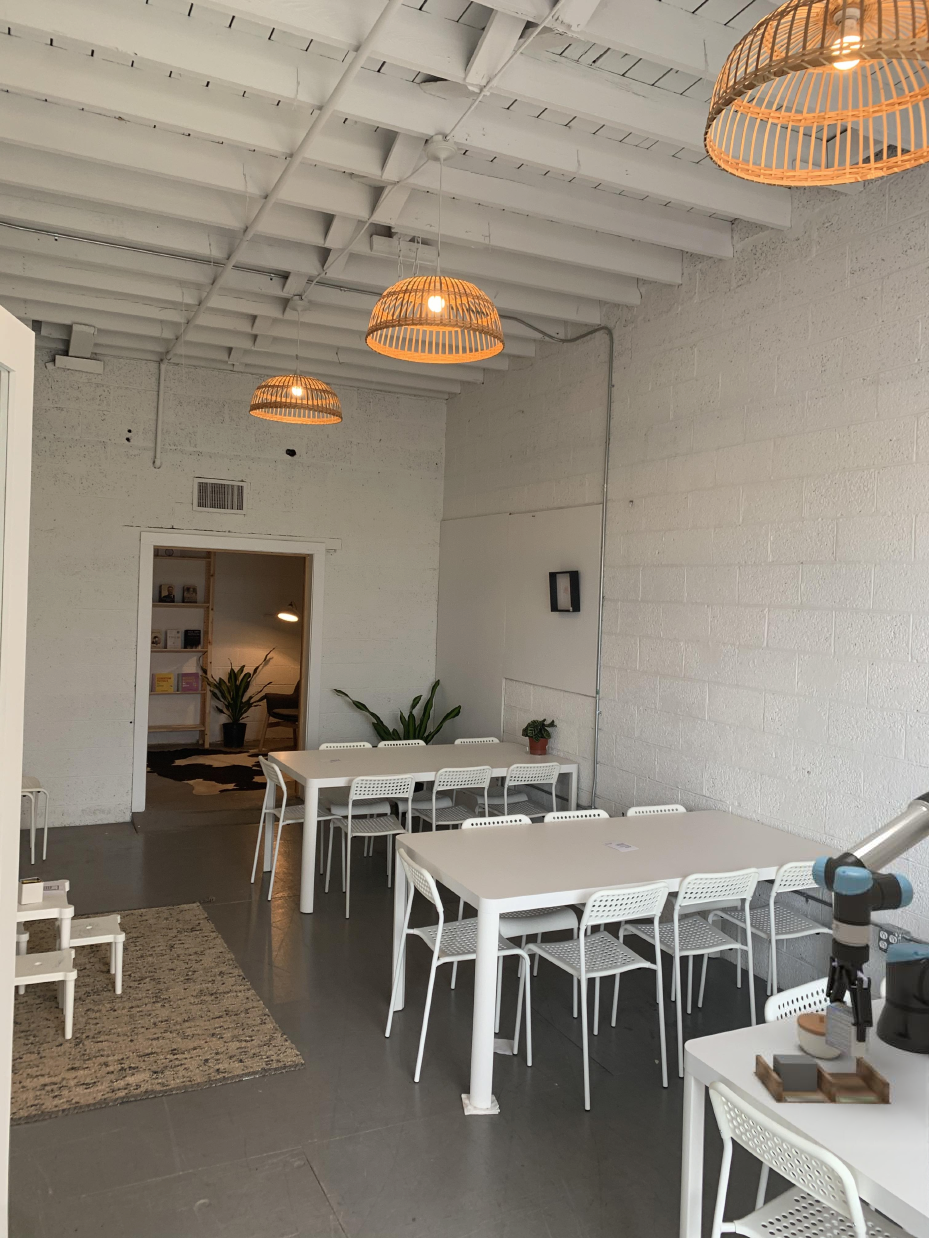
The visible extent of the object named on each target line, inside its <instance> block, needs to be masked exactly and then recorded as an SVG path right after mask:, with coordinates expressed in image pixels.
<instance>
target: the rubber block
mask: <svg viewBox="0 0 929 1238" xmlns="http://www.w3.org/2000/svg"><path fill="white" fill-rule="evenodd" d="M772 1056H773V1057H772V1070H773V1071H774V1072H775V1073H776V1075H777V1076H778V1077H779V1078H780V1079H781V1081H782V1082H783V1086H782V1092H817V1063H818V1062H817V1061H816V1060H815V1058H814V1057H813V1058H814V1059H813V1058H812V1057H811V1056H812V1055H810V1054H786V1053H785V1054H781V1053H780V1054H777V1053H776V1054H773V1055H772ZM814 1060H815V1061H816V1062H817V1063H816V1062H815V1061H814Z"/></svg>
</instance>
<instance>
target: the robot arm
mask: <svg viewBox="0 0 929 1238" xmlns="http://www.w3.org/2000/svg"><path fill="white" fill-rule="evenodd" d="M927 837H929V791H926V792H924V793H922V794H921V795H919V796H918V797H915V798H914V799H913V800H911V801H910V802H908V804H907V806H906V810H904V811H903V812H902V813H900V814H899V815H897V816H895V817H894V818H893V819H891V820H889V821H888V822H887V823H885V824H884V825H882V826H881V827H880V828H877V829H876V830H875V831H873V832H872V833H870V834H869V835H867V836H866V837H864V838H863V839H862V840H860V841H859V842H858V843H856V844H854V845H853V846H851V847H849V849H847V850H846V851H845V852H843V853H842V854H839V855H838V856H837V857H836V858H834V857H832V856H824V855H823V856H820V857H818V858H817V859H816V860H815V861H814V863H813V865H812V866H811V867H812V868H811V876H812V879H813V882H814V883H815V885H816V886H818V887H820V888H821V889H824V890H825V891H828V892H830V893H833V914H832V924H831V926H830V927H831V929H832V937H833V938H832V940H831V955H830V956H829V970H828V977H827V983H826V989H825V997H826V998H827V999H828V1000H829V1004H832V1003H836V1002H840V1003H842V1004H845V1005H846V1002H845V999H844V998H845V996H846V993H847V992H848V993H849V999H850V1004H851V1007H852V1011H853V1017H854V1023H851V1025H852V1040H851V1055H852V1056H851V1055H850V1056H851V1057H853V1056H858V1057H862V1058H863V1057H864V1058H865V1057H866V1055H865V1047H866V1028H867V1027H870V1028H873V1027H874V1021H873V1019H874V1018H873V1006H872V992H871V991H872V989H871V988H872V979H871V977H867V976H865V975H864V968H863V966H864V965H865V964H867V963H869V961H870V947H871V946H870V945H869V943H870V942H871V925H872V924H871V921H872V920H871V918H872V917H871V916H872V912H881V911H882V912H883V911H891V910H893V911H895V910H899V909H903V908H906V907H908V906H909V905H911V904H912V901H913V899H914V888H913V886H912V883H911V882H910V880H909V879H908V878H907V877H906V876H904V875H903V874H901V873H893V872H888V873H881V872H879V871H880V870H882V869H883V868H885V867H886V866H888V865H889V864H891V863H892V862H893V861H894V860H896V859H897V858H899V857H901V856H902V855H903V854H905V853H907V851H909V850H910V849H912V848H913V847H914V846H917V844H919V843H921V842H922V841H924V839H926V838H927ZM886 950H887V951H886V959H885V991H884V993H885V997H884V999H885V1000H884V1004H883V1007H882V1009H881V1012H880V1015H879V1018H878V1020H877V1021H876V1035H877V1036H878V1038H880V1039H881V1040H882V1041H883V1042H885V1043H887V1044H888V1045H891V1046H893V1047H896V1048H898V1049H901V1050H903V1051H904V1050H905V1051H909V1052H913V1053H918V1054H919V1053H920V1054H929V944H924V943H917V942H897V943H893V944H891V945H889V946H888V947H887V949H886Z"/></svg>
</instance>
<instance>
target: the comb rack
mask: <svg viewBox="0 0 929 1238" xmlns="http://www.w3.org/2000/svg"><path fill="white" fill-rule="evenodd" d="M810 1056H811V1057H812V1056H813V1055H810ZM812 1058H813V1059H814V1061H815V1062H816V1063H817V1092H782V1086H783V1082H782V1081H781V1079H780V1078H779V1077H778V1076H777V1075H776V1073H775V1072H774V1071H773V1067H771V1066H770V1065H769V1064H768V1062H767V1061H766V1060H765V1059H764V1058H763V1056H762V1054H755V1069H754V1070H755V1071H753V1073H754V1075H755V1076H756V1077H757V1078H758V1080H759V1082H760V1083H761V1084H762V1086H763V1087H764V1088H765V1090H766V1091H767V1092H768V1093H769V1094H770V1096H771V1097H772V1098H773V1100H774V1101H775V1102H776V1103H777V1104H839V1105H840V1104H841V1105H843V1104H844V1105H846V1104H848V1105H849V1104H851V1105H853V1104H855V1105H892V1103H891V1102H890V1082H888V1080H887V1079H885V1077H883V1076H882V1074H880V1072H878V1071H877V1070H876V1069H875V1068H874V1067H873V1066H872V1065H871V1064H870V1063H869V1062H867V1061H866V1060H865V1059H864V1058H863V1057H861V1058H856V1061H855V1062H856V1063H855V1064H856V1065H855V1066H856V1067H855V1072H827V1071H826V1070H825V1069H824V1068H823V1067H822V1066H821V1065H820V1064H819V1063H818V1061H816V1060H815V1058H814V1056H813V1057H812Z"/></svg>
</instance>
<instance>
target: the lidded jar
mask: <svg viewBox="0 0 929 1238" xmlns="http://www.w3.org/2000/svg"><path fill="white" fill-rule="evenodd" d="M796 1023H797V1027H796V1029H797V1030H796V1031H797V1038H798V1042H799V1044H800V1046H801V1048H802V1050H804V1051H805V1052H806V1053H807V1054H808V1055H810V1056H813V1057H816V1058H819V1059H825V1060H826V1059H828V1060H831V1059H835V1058H837V1057H838V1056H839V1055H840V1054H841V1053H842V1051H840V1050H838V1049H835V1048H833V1047H831V1046H829V1045H826V1044H825V1036H826V1014H822V1013H816V1012H807V1013H801V1014H799V1015H798V1016H797V1017H796Z"/></svg>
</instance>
